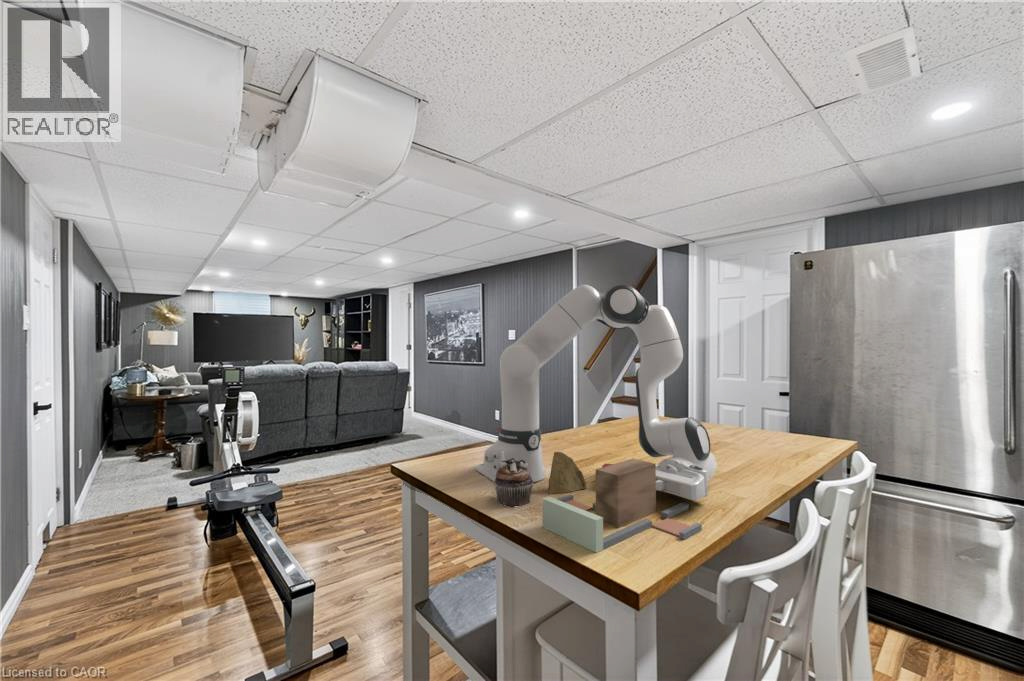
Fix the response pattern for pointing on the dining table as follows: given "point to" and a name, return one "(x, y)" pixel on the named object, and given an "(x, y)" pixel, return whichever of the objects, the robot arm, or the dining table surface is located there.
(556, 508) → the green panel rail frame
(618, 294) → the robot arm
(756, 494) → the dining table surface
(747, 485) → the dining table surface
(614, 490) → the walnut block
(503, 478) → the cupcake
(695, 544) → the dining table surface
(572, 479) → the rock
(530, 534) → the dining table surface
